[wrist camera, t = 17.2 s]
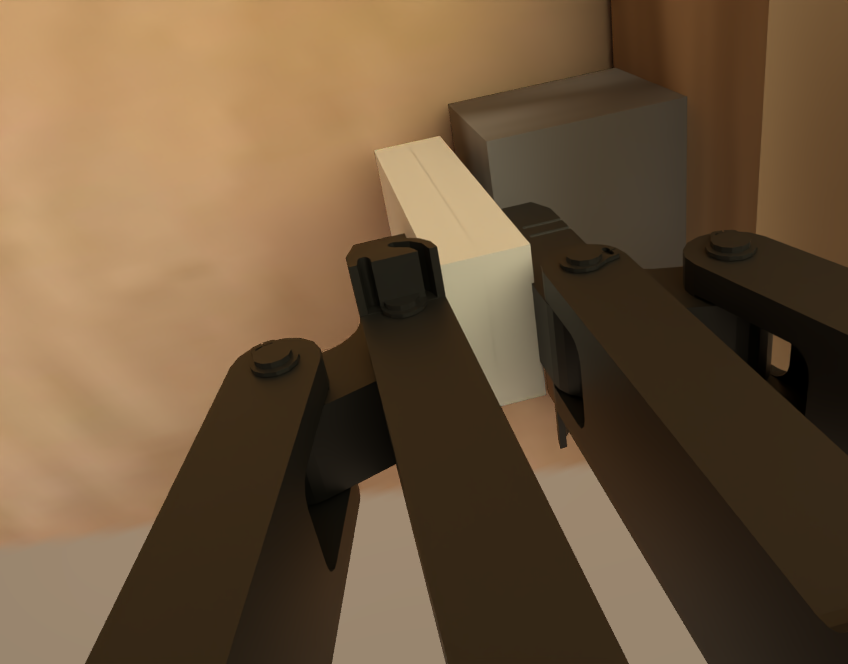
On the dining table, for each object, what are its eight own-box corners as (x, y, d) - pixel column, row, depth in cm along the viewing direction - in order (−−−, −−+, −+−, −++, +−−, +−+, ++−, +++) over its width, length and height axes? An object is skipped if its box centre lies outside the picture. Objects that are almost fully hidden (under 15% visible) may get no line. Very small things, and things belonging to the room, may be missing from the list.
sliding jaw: (487, 368, 21) (561, 516, 16) (419, -80, 15) (499, -82, 10) (724, 309, 21) (873, 433, 16) (741, -143, 16) (975, -177, 11)
